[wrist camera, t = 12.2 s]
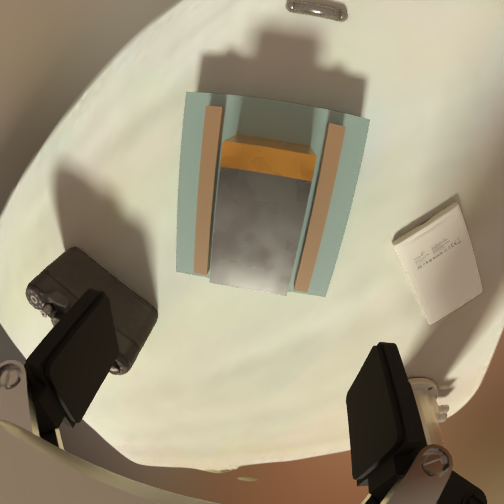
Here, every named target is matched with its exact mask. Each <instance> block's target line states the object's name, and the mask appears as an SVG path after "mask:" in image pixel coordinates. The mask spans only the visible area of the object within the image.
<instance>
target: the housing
mask: <svg viewBox="0 0 504 504" xmlns="http://www.w3.org/2000/svg"><path fill="white" fill-rule="evenodd" d="M316 158H317V155H316V154H315V152H314V151H313V149H312V148H311V146H307V145H302V144H296V143H291V142H285V141H279V140H273V139H267V138H260V137H253V136H246V135H239V134H236V135H234V136H232V137H230V138H228V139H226V140H224V141H223V145H222V154H221V163H220V172H219V181H218V191H217V201H216V211H215V222H214V233H213V244H212V257H211V269H210V283H215V284H221V285H226V286H232V287H237V288H243V289H249V290H254V291H260V292H266V293H272V294H278V295H284V296H286V295H287V291H288V287H289V283H290V279H291V274H292V270H293V266H294V262H295V257H296V253H297V249H298V244H299V240H300V235H301V231H302V226H303V222H304V217H305V213H306V208H307V203H308V198H309V194H310V189H311V184H312V179H313V174H314V169H315V164H316Z"/></svg>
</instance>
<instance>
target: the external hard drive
mask: <svg viewBox="0 0 504 504" xmlns="http://www.w3.org/2000/svg"><path fill="white" fill-rule="evenodd" d="M392 244H393V246H394V248H395V250H396V252H397V254H398V256H399V258H400V260H401V263H402V265H403V267H404V269H405V271H406V273H407V275H408V278H409V280H410V282H411V284H412V287H413V289H414V291H415V293H416V296H417V298H418V300H419V303H420V305H421V307H422V310H423V312H424V315H425V317H426V320H427V322H428V324H433V323H435V322H437V321H438V320H440V319H442V318H443V317H445V316H446V315H448V314H450V313H451V312H453V311H454V310H456V309H458V308H459V307H461V306H462V305H464V304H465V303H467V302H468V301H470V300H471V299H473V298H474V297H476V296H477V295H479V294H480V293H481V292H482V291H483V289H482V284H481V280H480V275H479V271H478V267H477V263H476V259H475V255H474V251H473V248H472V244H471V241H470V237H469V234H468V231H467V228H466V224H465V221H464V218H463V215H462V212H461V209H460V207H459V204H458V203H457V202H454V203H452V204H451V205H449V206H448V207H446V208H445V209H443V210H442V211H440V212H439V213H437V214H436V215H434V216H432V217H431V218H430V220H429V221H427V222H426V223H424V224H422V225H418V226H417V227H415V228H414V229H412V230H410V231H409V232H407V233H406V234H404V235H402V236H401V237H399V238H398V239H396V240H394V241H393V242H392Z"/></svg>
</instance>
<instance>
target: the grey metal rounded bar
mask: <svg viewBox="0 0 504 504" xmlns="http://www.w3.org/2000/svg"><path fill="white" fill-rule="evenodd" d="M286 9H287V10H288V11H290V12H294V13H300V14H306V15H312V16H317V17H322V18H327V19H332V20H336V21H345V20H347V18H348V14H347V12H346V11H345V10H342V9H338V8H334V7H329V6H324V5H319V4H314V3H308V2H302V1H296V0H290V1H288V2H287V3H286Z"/></svg>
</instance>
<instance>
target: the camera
mask: <svg viewBox="0 0 504 504" xmlns="http://www.w3.org/2000/svg"><path fill="white" fill-rule="evenodd" d="M89 288H93V289H96V290H100V291H103V292H105V293H106V296H107V297H108V298H109V300H110V305H111V311H112V317H113V322H114V327H115V332H116V337H117V341H118V346H119V355H118V357H117V359H116V361H115V362H114V364H113V366H112V367H111V369H110V371H109V372H110V373H112V374H115V375H117V374H118V375H123V374H125V373H127V372H128V371H129V370H130V369H131V367H132V365H133V364H134V362H135V360H136V358H137V356H138V354H139V352H140V351H141V349H142V347H143V345H144V343H145V342H146V340H147V338H148V336H149V334H150V333H151V331H152V329H153V327H154V325H155V323H156V321H157V318H158V315H157V312H156V310H155V309H154V307H152V306H151V305H150V304H149V303H147V302H146V301H145V300H143V299H142V298H141V297H139V296H138V295H137V294H135V293H134V292H132V291H131V290H130V289H129V288H127V287H126V286H125V285H123V284H122V283H121V282H120V281H118V280H117V279H116V278H114V277H113V276H112V275H111V274H109V273H108V272H107V271H106V270H104V269H103V268H102V267H101V266H99V265H98V264H97V263H96V262H95V261H93V260H92V259H91V258H90V257H88V256H87V255H86V254H85V253H84V252H82V251H81V250H80V249H79V248H76V247H73V248H70V249H68V250H67V251H66V252H64V253H63V254H62V255H61V256H59V257H58V258H57V259H56V260H55V261H53V262H52V263H51V264H50V265H48V266H47V267H46V268H45V269H44V270H43V271H42V272H41V273H40V274H39V275H38V276H36V277H35V278H34V279H33V280H32V281H31V282H30V283H29V284H28V286H27V289H26V297H27V299H28V301H29V303H30V304H31V305H32V306H33V307H34V308H35V309H39V310H42V311H41V313H42V315H43V317H47V315H48V316H49V317H50V318H51V321H52V323H53V326H55V325H56V324H57V323H58V322H59V320H60V319H61V318H62V317H63V316H64V315H65V314H66V313H67V312H68V310H69V309H70V308H71V307H72V306H73V305H74V304H75V303H76V302H77V301H78V299H79V298H80V297H81V296H82V295H83V294H84V293H85V292H86V291H87V290H88V289H89Z"/></svg>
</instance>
